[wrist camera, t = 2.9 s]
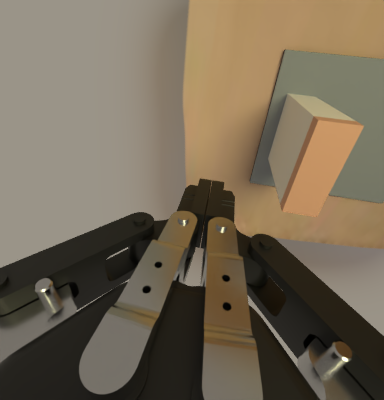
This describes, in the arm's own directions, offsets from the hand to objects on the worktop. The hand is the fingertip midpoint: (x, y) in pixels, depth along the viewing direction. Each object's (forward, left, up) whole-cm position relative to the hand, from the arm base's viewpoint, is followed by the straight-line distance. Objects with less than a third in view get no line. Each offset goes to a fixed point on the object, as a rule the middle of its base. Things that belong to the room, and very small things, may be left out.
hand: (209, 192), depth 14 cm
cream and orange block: (-8, 0, -17) cm, 19 cm away
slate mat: (-14, 0, -18) cm, 23 cm away
